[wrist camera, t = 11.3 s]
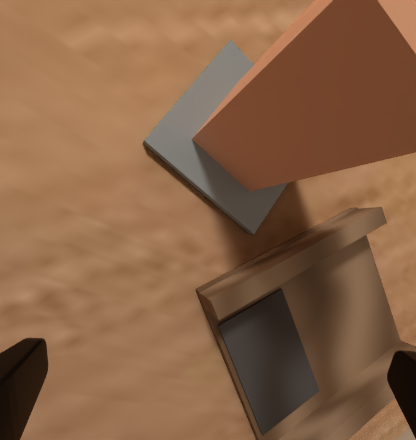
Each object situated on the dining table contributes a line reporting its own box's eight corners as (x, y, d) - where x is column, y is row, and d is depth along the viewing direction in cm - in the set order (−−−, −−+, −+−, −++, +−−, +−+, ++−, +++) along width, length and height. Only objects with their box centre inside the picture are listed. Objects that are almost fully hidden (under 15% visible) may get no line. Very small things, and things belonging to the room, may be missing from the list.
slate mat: (249, 234, 19) (254, 234, 19) (142, 143, 17) (144, 140, 16) (313, 138, 21) (319, 135, 21) (226, 45, 19) (230, 39, 18)
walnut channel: (265, 461, 19) (289, 495, 17) (195, 289, 18) (210, 299, 15) (397, 351, 24) (431, 365, 21) (351, 207, 22) (381, 205, 20)
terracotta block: (249, 191, 19) (475, 137, 7) (191, 138, 17) (359, -26, 6) (287, 136, 20) (534, 17, 8) (236, 83, 18) (448, -142, 7)
